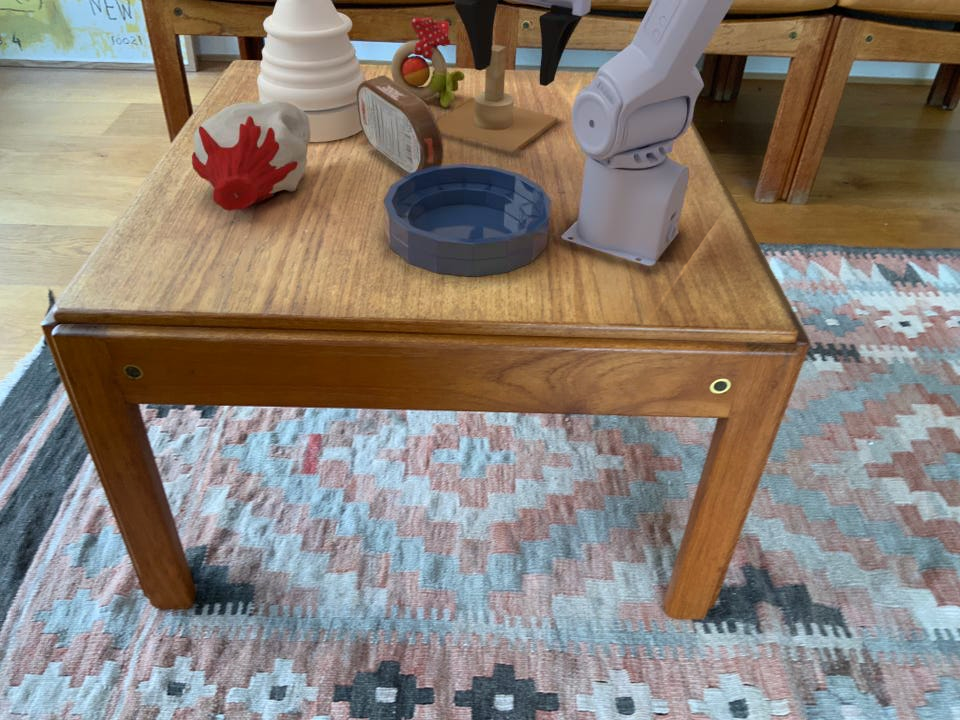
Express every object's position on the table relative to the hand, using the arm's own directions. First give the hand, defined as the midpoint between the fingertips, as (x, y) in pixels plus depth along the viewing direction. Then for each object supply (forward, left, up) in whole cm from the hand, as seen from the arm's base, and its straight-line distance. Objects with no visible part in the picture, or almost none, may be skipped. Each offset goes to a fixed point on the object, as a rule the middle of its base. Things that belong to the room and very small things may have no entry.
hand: (514, 75), depth 82 cm
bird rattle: (+18, -11, -11) cm, 24 cm away
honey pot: (+26, +2, -11) cm, 28 cm away
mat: (+7, -9, -10) cm, 15 cm away
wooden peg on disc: (+7, -9, -10) cm, 15 cm away
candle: (+19, +21, -11) cm, 30 cm away
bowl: (-4, +16, -10) cm, 19 cm away
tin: (+11, +6, -11) cm, 16 cm away
